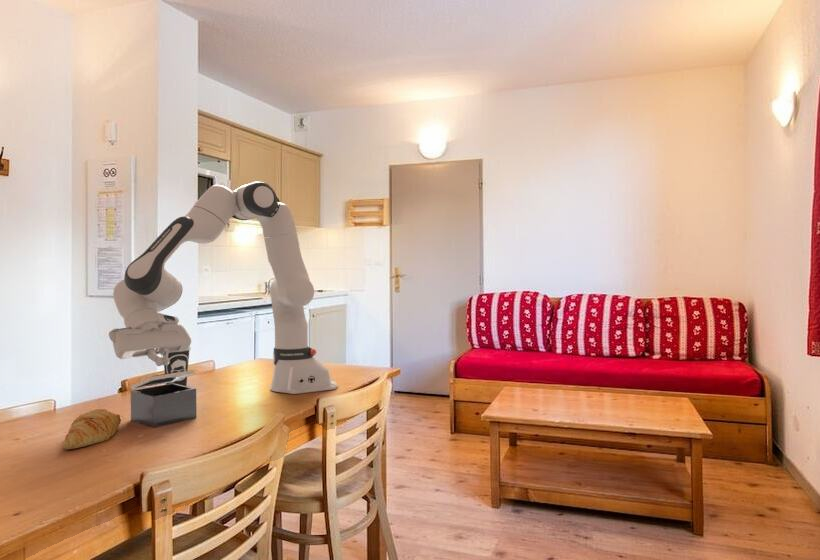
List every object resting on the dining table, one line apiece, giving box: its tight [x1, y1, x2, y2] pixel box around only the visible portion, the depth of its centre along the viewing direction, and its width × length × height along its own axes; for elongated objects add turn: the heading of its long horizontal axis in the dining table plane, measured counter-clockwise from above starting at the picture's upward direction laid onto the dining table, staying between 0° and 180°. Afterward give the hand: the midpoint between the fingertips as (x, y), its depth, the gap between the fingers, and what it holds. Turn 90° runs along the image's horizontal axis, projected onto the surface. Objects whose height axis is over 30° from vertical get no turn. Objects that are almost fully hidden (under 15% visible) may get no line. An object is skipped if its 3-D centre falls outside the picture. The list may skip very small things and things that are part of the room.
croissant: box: [62, 409, 122, 450], centre depth 128 cm, size 21×10×8 cm, turn 2°
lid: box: [130, 369, 196, 390], centre depth 145 cm, size 12×12×2 cm
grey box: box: [130, 383, 197, 428], centre depth 145 cm, size 12×12×8 cm
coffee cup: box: [162, 345, 192, 386], centre depth 185 cm, size 10×10×15 cm
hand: (163, 364), depth 144 cm, fingers closed
